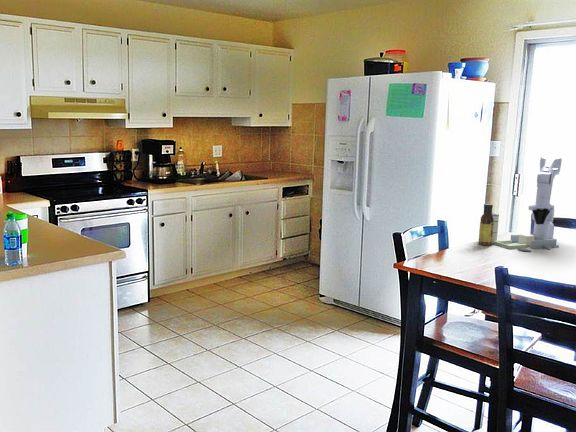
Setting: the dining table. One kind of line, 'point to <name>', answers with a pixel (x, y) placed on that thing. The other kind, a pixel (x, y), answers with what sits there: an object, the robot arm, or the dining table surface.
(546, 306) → the dining table surface
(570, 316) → the dining table surface
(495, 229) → the syrup box
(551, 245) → the crook tool
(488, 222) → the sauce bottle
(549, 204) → the robot arm
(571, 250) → the dining table surface
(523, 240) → the cube
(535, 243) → the pale blue square frame
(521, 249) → the hole marker
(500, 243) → the pale green flat block
